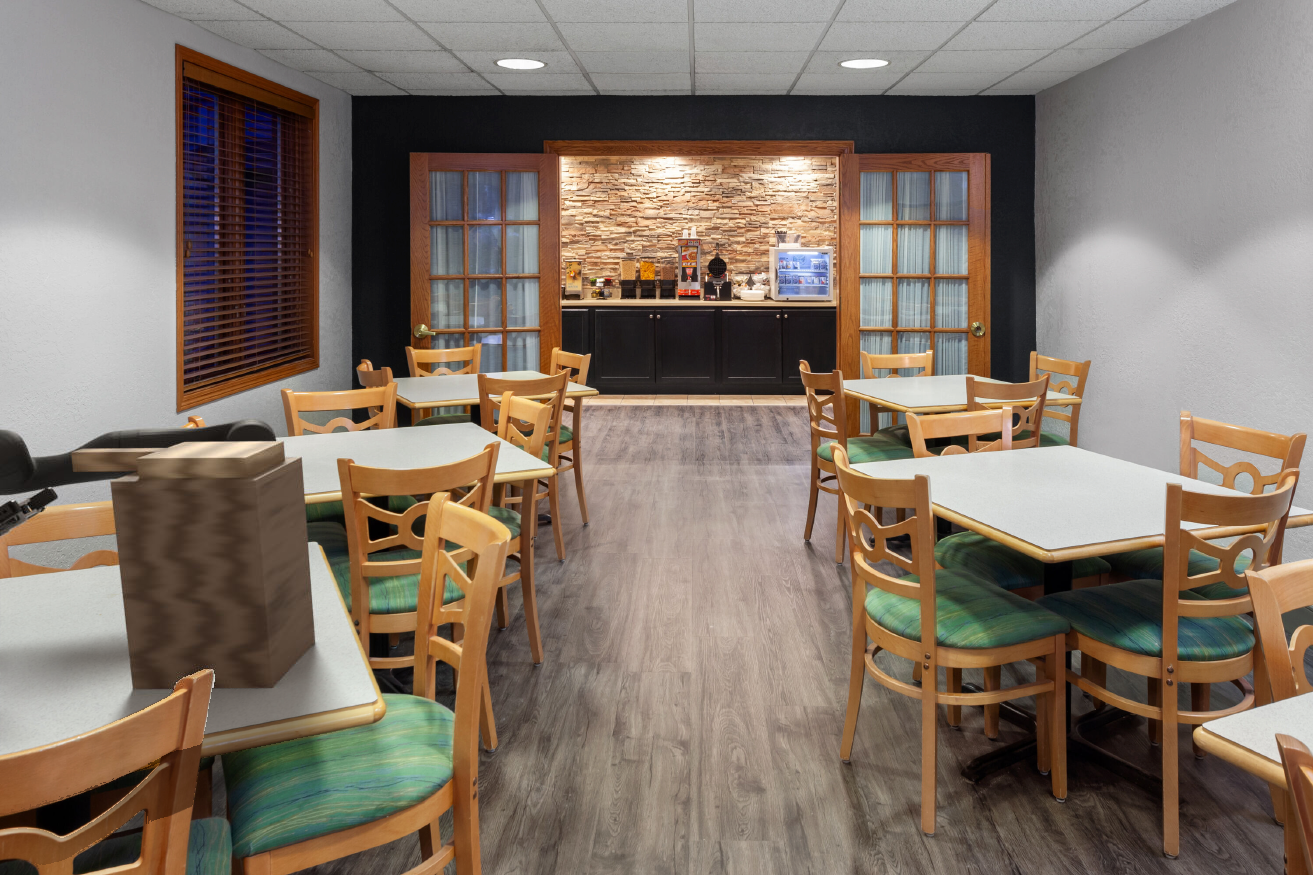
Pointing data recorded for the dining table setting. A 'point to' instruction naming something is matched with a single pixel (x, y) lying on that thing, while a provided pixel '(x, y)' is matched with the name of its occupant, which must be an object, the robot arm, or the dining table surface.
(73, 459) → the bread board
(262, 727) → the dining table surface
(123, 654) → the dining table surface
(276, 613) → the cabinet
